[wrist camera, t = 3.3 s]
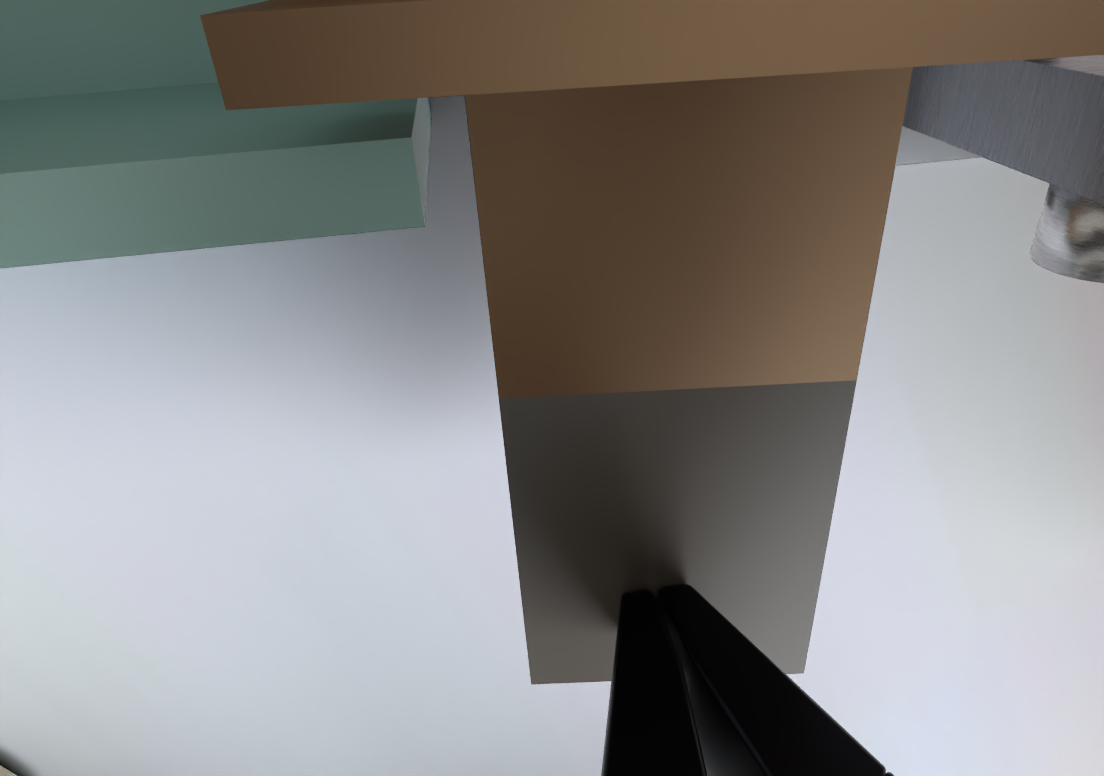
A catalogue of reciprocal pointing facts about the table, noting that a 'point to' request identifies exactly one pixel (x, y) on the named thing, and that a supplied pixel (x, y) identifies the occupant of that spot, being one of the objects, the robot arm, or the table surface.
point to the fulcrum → (1023, 141)
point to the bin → (178, 142)
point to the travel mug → (6, 772)
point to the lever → (660, 261)
